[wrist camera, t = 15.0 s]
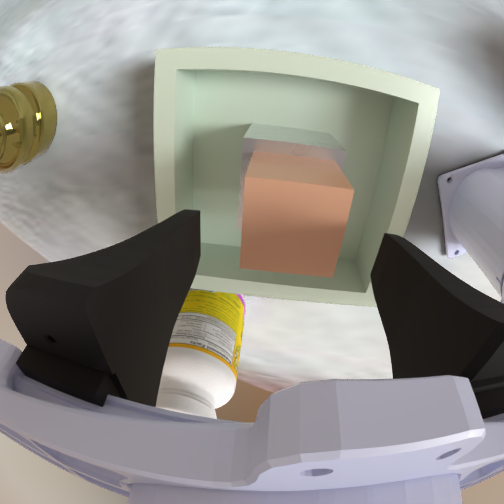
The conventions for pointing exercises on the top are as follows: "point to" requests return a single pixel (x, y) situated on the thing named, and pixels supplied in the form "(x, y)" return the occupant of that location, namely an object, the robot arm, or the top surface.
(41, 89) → the brass calibration weight
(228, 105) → the tote
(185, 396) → the supplement bottle
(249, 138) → the steel block
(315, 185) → the terracotta box
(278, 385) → the top surface
